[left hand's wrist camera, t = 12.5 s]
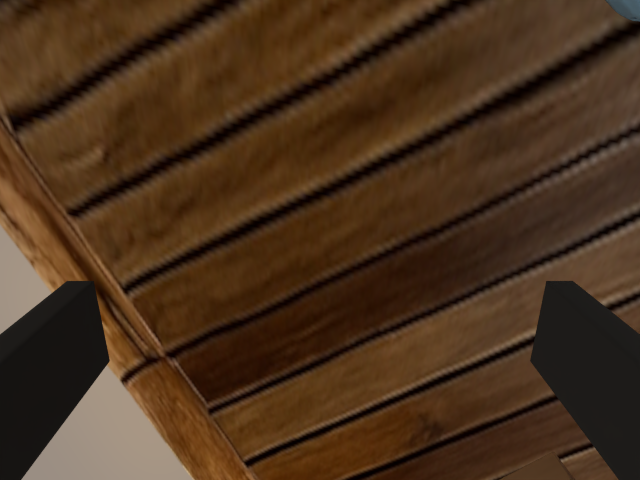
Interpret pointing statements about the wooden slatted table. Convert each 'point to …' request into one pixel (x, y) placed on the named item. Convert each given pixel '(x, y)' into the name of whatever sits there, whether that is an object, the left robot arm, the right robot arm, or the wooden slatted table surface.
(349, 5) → the wooden slatted table surface
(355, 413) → the wooden slatted table surface
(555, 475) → the bar
